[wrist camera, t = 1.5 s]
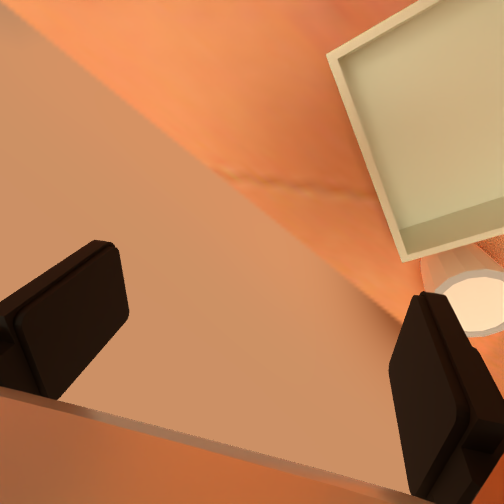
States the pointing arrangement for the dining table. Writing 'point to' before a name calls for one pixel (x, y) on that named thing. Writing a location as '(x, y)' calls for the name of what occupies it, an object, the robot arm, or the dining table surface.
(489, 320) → the shot glass
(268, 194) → the dining table surface
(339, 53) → the tote
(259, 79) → the dining table surface
